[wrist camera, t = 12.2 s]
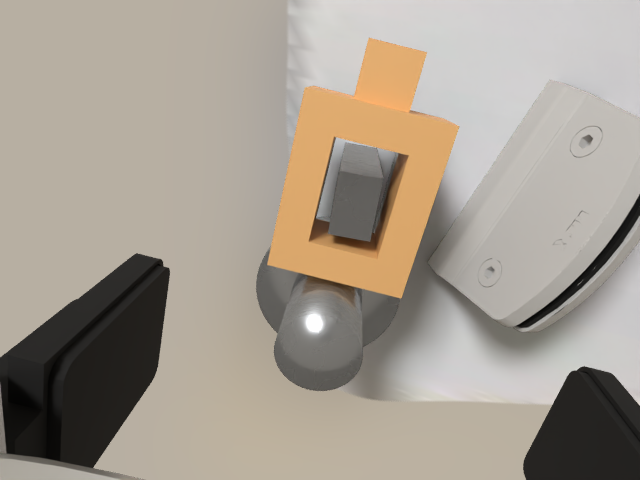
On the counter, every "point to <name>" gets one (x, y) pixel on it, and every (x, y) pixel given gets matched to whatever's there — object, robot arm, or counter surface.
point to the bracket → (405, 185)
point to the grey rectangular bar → (356, 193)
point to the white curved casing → (549, 212)
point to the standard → (321, 321)
